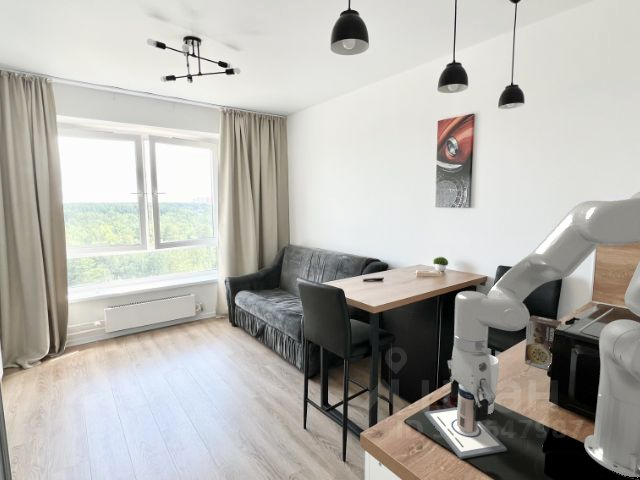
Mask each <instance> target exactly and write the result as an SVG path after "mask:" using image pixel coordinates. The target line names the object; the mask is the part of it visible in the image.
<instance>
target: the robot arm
mask: <svg viewBox="0 0 640 480" xmlns="http://www.w3.org/2000/svg"><path fill="white" fill-rule="evenodd" d="M630 244H631V245H632V244H640V191H638V192H636V193H635V194H633V195H632V196H631V197H630V198H626V199H619V200H611V201H610V200H608V201H607V200H588V201H583V202H581V203H578V204H577V205H575V206H574V207H573V208H572V209H571V210H569V212H567V213H566V215H565V216H564V217H563V218H562V219H561V220H560V221H559V222H558V223H557V225H556V226H555V227H554V228H553V229H552V230H551V231H550V232H549V233H548V235H546V237H545V238H544V239H543V240H542V241H541V242H540V243H539V244H538V246H537V247H536V248H535V249H534V250H533V251H531V253H529V254H528V255H526V256H525V257H524V258H522V259H521V260H520V261H519V262H517V263H516V264H514V265H513V266H512V267H511V268H509V269H508V270H507V271H506V272H505V273H504V274H503V275H502V276H501V278H500V279H499V280H498V281H497V282H496V283H495V284H494V285H493V287H492V288H491V289H490V290H489V292H488V293H487V295H486V294H485V293H481V292H479V291H475V290H465V291H460V292H458V293H457V294H456V296H455V299H454V331H453V332H454V335H453V347H452V348H453V349H452V352H451V353H452V354H451V355H452V356H451V359H449V360H447V366H448V373H449V376H450V377H449V380H450V397H451V398H452V399H453V398H458V389H459V384H461V385H462V386H463V387H464V388H465V389H466V390H468V391H469V392H470V393H471V394H473V395H474V398H475V400H476V403H477V404H476V405H475V412H474V420H475V421H480V422H482V421H487V420H488V417H489V415H488V406H490V405H491V404H493V401H494V402H495V400H494V399H496V393H495V394H494V392H493V391H492V389H491V363H490V357H489V355H490V354H489V353H488V344H489V343H488V339H489V327H491V328H494V329H498V330H503V331H507V332H508V331H509V332H517V331H520V330H522V329H524V328H526V327H527V324H528V322H529V318H530V317H531V315H530V312H529V309H528V308H527V306H526V304H525V303H523V302H524V301H525V299H527V297H529V295H530V294H531V293H532V292H534V291H535V290H536V289H537V288H539V287H540V286H542V285H545V284H546V283H549V282H553V281H558V280H561V279H565V278H567V277H569V276H571V275H572V274H573V273H574V272H575V271H576V270H577V269H578V267H580V266H581V265H582V264H583V262H584V261H585V260H586V259H587V258H588V257H589V256H591V254H593V252H594V251H595V250H596V249H597V248H598V247H599V246H600V245H601V246H622V245H624V246H625V245H630ZM624 303H625V306H626V308H627V309H629V311H630V312H631V313H632V314H634V315H636V316H638V317H639V318H640V260H639V261H638V264H637V266H636V268H635V270H634V273H633V275H632V278H631V279H630V281H629V284H628V287H627V289H626V291H625V293H624ZM598 340H599V341H598V348H599V358H600V359H599V360H600V361H599V362H600V368H599V369H600V370H599V373H600V374H599V384H598V393H597V403H596V411H595V419H594V420H595V422H594V429H593V430H594V431H593V434H590V435H588V436H586V437H585V439H584V448H585V451H586V453H587V454H588V455H589V456H590V457H591V458H592V459H593V460H594V461H595V462H597V463H598V464H599V465H601V466H603V467H604V468H606V469H608V470H609V471H612V472H613V471H614V472H613V473H615V472H616V474H618V473H619V474H618V475H620V474H621V476H623V475H624V476H623V477H626V476H629V477H637V478H638V477H640V322H638V321H635V320H631V319H625V318H624V319H616V320H614V321H611V322H609V323H608V324H606V325H605V326H604V327H603V328H602V329H601V331H600V335H599V338H598ZM479 389H481V391H479V392H477V391H478V390H479ZM481 394H482V396H483V398H484V399H483V400H480V398H479V395H481ZM629 477H628V478H629Z"/></svg>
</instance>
